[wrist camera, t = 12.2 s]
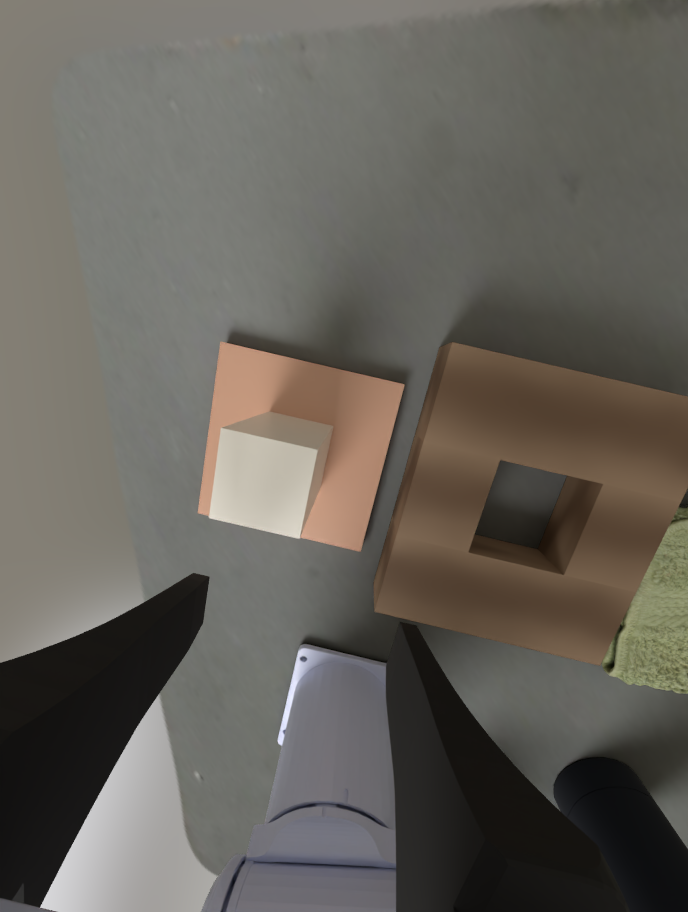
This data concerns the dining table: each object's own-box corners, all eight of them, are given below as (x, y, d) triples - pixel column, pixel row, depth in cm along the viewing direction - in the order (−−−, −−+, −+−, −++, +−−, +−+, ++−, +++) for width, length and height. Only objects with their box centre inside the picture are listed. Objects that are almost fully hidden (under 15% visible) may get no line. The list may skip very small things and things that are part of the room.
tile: (360, 545, 23) (360, 551, 22) (203, 508, 23) (197, 512, 22) (403, 384, 20) (404, 384, 19) (226, 343, 20) (220, 341, 20)
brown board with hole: (570, 629, 23) (599, 665, 20) (373, 582, 23) (374, 611, 20) (674, 402, 20) (728, 406, 17) (439, 347, 20) (452, 342, 17)
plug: (320, 487, 21) (299, 538, 14) (258, 473, 21) (209, 517, 14) (333, 426, 20) (317, 450, 13) (269, 411, 20) (220, 427, 14)
